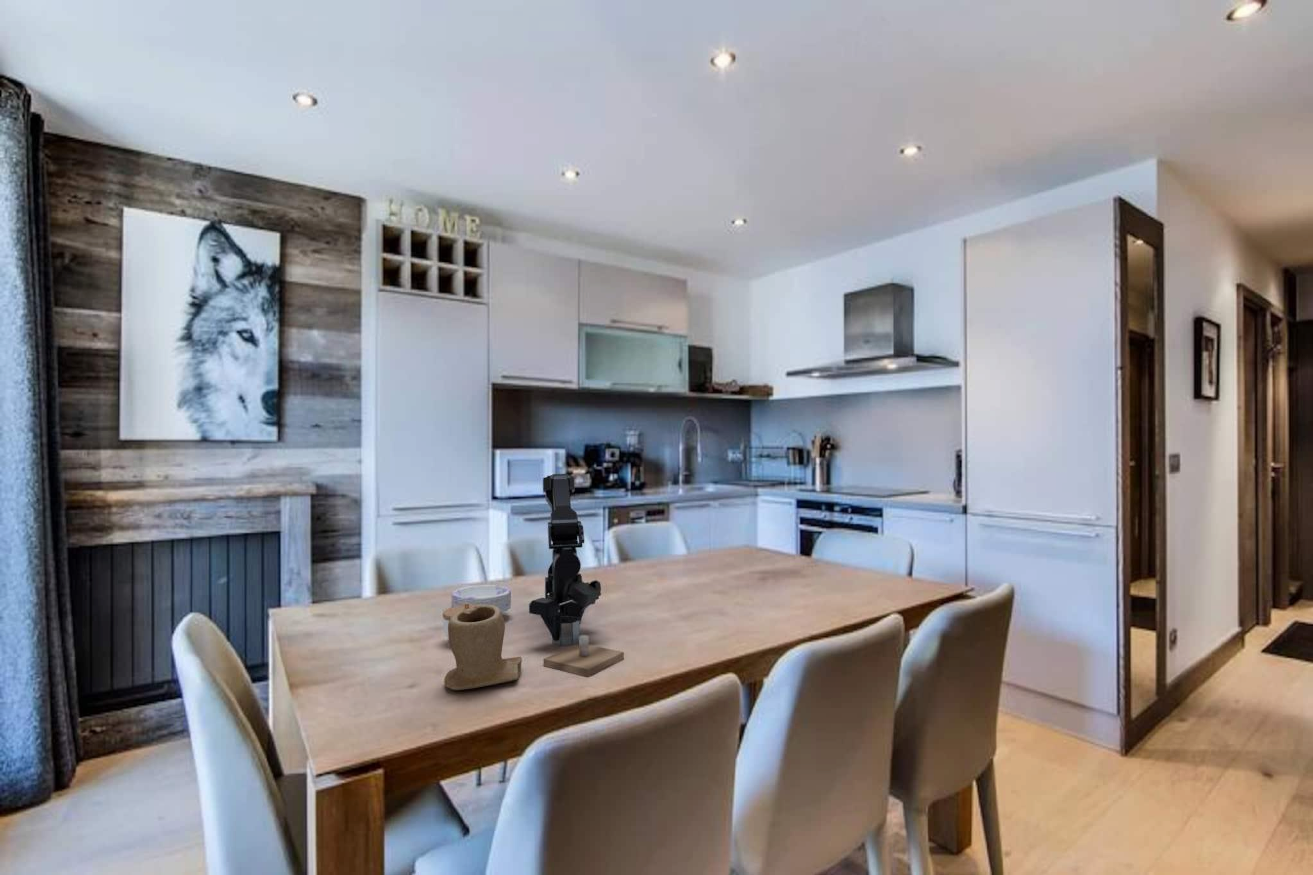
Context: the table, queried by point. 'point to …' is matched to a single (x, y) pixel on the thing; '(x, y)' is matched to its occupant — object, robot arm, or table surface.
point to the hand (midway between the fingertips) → (565, 636)
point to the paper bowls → (483, 596)
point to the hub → (568, 631)
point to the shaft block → (583, 658)
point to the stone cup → (479, 649)
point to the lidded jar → (451, 611)
